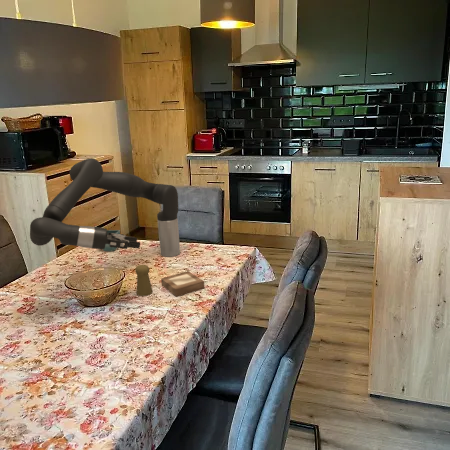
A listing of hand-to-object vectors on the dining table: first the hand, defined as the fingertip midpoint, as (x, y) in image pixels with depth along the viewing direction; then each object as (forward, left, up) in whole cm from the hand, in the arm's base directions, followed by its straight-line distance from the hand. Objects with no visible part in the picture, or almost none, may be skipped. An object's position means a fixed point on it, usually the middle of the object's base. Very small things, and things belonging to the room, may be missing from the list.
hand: (138, 243), depth 159 cm
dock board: (+2, +15, -21) cm, 26 cm away
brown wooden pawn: (-2, +1, -21) cm, 21 cm away
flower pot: (-61, +7, -21) cm, 65 cm away
